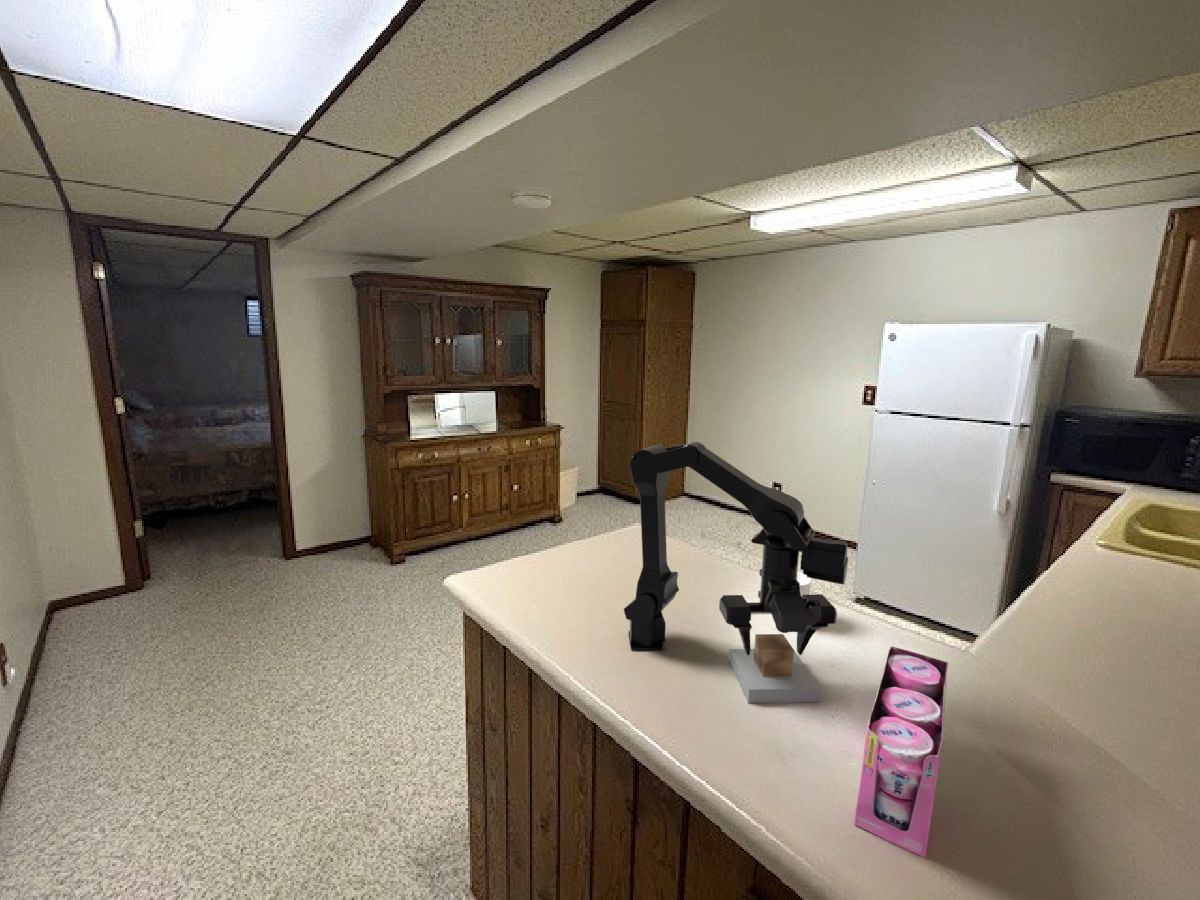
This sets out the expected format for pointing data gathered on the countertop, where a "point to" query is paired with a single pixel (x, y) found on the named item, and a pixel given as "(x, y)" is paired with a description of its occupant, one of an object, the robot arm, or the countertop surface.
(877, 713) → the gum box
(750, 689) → the slate tile
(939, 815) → the countertop surface
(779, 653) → the walnut cube
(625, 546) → the countertop surface
